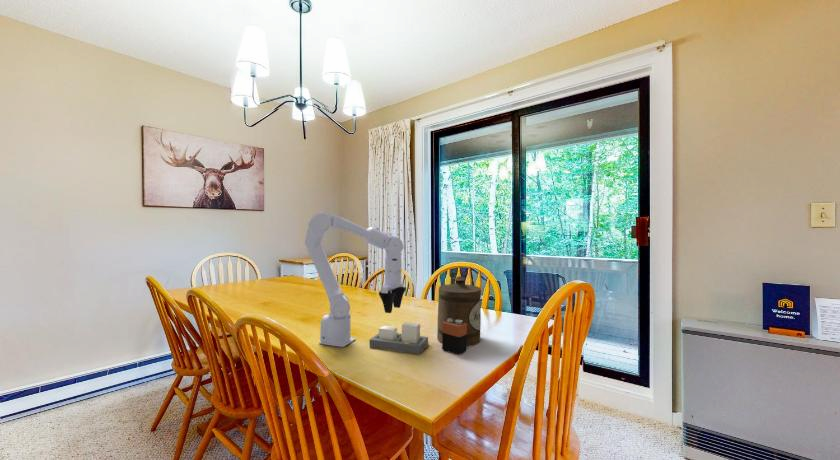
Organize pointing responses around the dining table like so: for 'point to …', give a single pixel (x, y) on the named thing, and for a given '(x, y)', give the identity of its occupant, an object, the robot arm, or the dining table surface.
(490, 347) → the dining table surface
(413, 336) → the plug
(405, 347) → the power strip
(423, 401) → the dining table surface
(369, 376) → the dining table surface
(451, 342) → the battery
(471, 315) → the wooden container
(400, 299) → the robot arm
